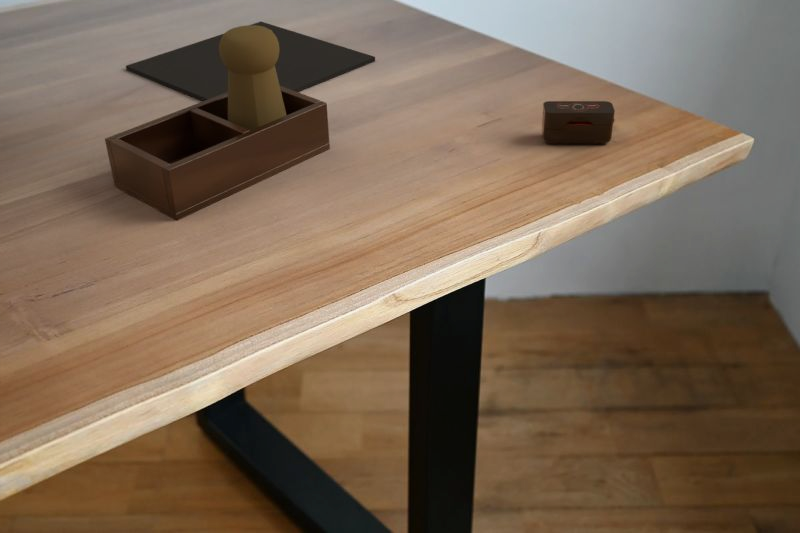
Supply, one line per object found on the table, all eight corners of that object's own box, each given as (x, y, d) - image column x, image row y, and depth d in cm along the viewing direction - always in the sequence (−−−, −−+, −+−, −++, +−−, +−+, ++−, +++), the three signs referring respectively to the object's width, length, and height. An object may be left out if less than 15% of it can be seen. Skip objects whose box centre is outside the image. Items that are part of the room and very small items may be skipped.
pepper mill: (238, 130, 87) (223, 17, 81) (299, 133, 86) (289, 19, 80) (219, 158, 82) (202, 40, 76) (284, 161, 81) (272, 42, 75)
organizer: (114, 186, 79) (104, 138, 77) (266, 122, 90) (261, 78, 88) (177, 220, 74) (167, 170, 72) (330, 148, 85) (327, 102, 82)
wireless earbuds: (620, 145, 84) (624, 113, 82) (542, 145, 84) (545, 113, 83) (613, 124, 88) (616, 93, 86) (538, 124, 88) (541, 93, 87)
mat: (126, 69, 103) (125, 65, 103) (261, 25, 115) (260, 21, 115) (238, 115, 92) (238, 111, 91) (375, 60, 104) (375, 56, 104)
